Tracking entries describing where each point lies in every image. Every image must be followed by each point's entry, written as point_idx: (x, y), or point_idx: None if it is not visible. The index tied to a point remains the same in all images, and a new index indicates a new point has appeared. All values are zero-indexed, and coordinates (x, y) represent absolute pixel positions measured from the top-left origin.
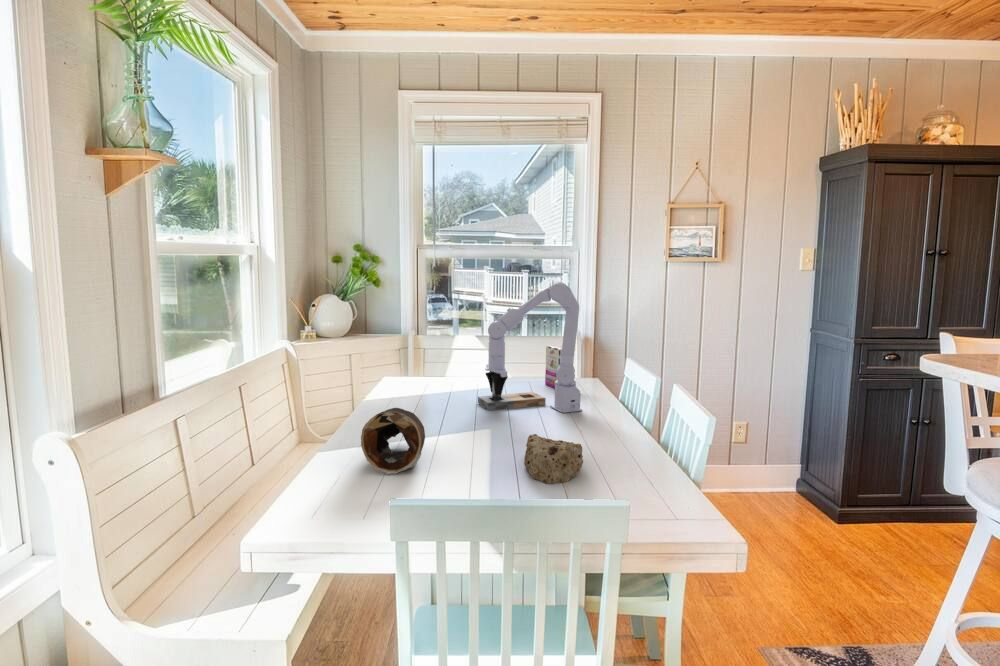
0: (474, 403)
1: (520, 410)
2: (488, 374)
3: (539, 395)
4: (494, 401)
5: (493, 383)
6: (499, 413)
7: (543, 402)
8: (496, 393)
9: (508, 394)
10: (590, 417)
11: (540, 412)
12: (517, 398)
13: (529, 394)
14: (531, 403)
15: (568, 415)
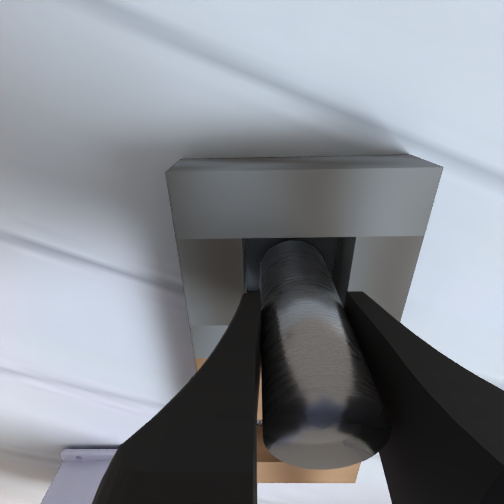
0: (431, 127)
1: (139, 335)
2: (496, 483)
3: (272, 480)
4: (211, 242)
5: (306, 370)
6: (81, 205)
7: None
8: (240, 304)
9: None
10: (2, 485)
11: (87, 393)
12: None
13: None
14: None
15: (30, 450)
